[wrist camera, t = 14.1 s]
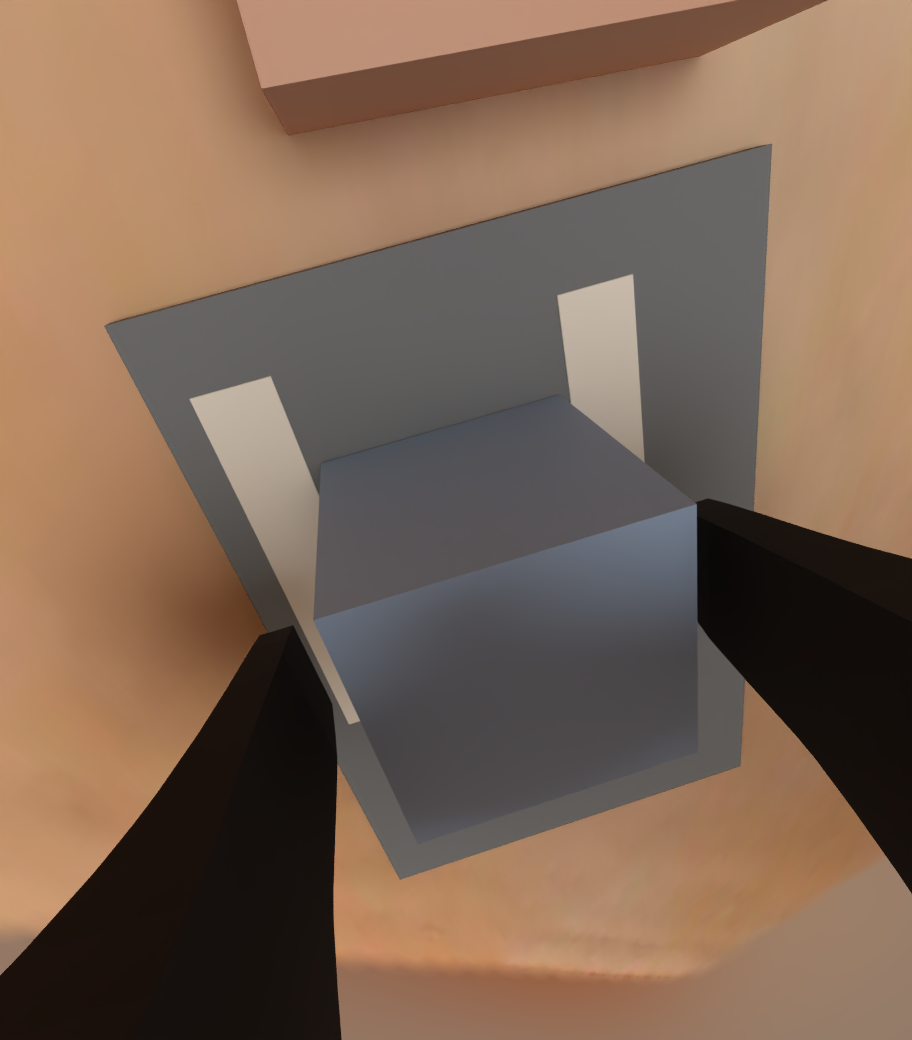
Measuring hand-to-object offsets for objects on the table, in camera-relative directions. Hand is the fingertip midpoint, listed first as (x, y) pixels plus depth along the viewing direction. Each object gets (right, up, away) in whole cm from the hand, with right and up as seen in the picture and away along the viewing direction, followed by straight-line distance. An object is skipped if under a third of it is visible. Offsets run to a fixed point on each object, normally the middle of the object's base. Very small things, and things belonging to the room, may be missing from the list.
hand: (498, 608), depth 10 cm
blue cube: (0, +1, +2) cm, 3 cm away
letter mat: (+1, -1, +4) cm, 4 cm away
